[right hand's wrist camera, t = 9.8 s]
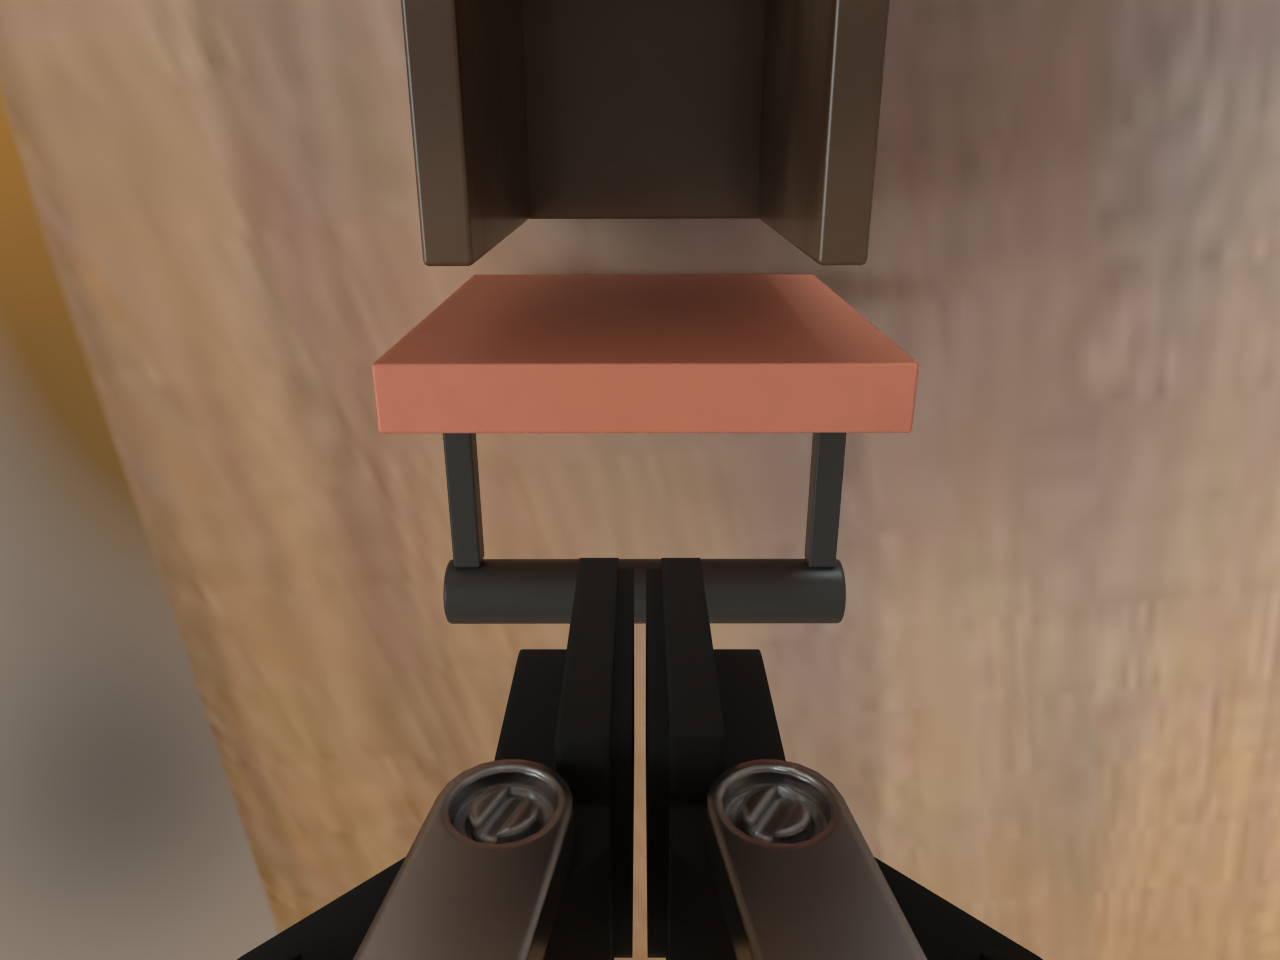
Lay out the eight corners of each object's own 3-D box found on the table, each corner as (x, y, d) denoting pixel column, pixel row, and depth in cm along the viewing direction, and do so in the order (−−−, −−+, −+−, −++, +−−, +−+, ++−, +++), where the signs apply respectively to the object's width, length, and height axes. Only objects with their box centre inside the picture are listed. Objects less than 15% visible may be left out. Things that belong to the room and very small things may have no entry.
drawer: (798, 520, 26) (880, 725, 17) (489, 521, 26) (410, 725, 17) (876, -671, 17) (1130, -1533, 8) (410, -668, 17) (161, -1527, 8)
